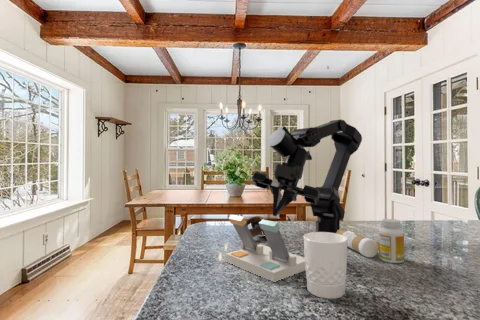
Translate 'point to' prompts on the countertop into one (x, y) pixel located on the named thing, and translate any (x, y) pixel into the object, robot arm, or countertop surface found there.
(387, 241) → the supplement bottle
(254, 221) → the pottery mug
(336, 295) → the white cup
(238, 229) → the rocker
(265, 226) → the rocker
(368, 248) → the sprinkles bottle
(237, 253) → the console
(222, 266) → the countertop surface
